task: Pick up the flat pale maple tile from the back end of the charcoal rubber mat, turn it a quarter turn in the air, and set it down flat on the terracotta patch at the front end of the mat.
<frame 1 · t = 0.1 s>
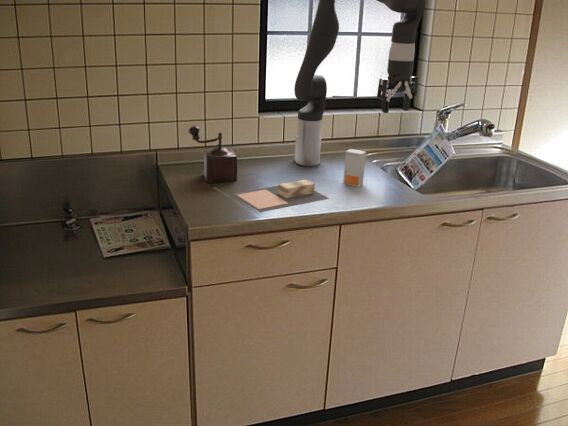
hand: (395, 111, 187), 29 cm above the counter, tool pointing down, fingers open, 8 cm apart
manual coffee grinder: (212, 179, 211), on the counter
rubber mat: (280, 197, 196), on the counter
skincare box: (353, 184, 211), on the counter
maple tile: (296, 193, 199), point 1 cm above the counter, touching rubber mat
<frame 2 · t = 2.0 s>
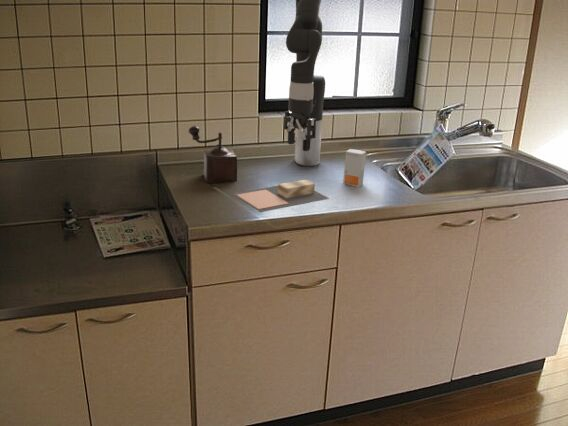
hand: (298, 147, 193), 16 cm above the counter, tool pointing down, fingers open, 8 cm apart
nothing on the counter moved.
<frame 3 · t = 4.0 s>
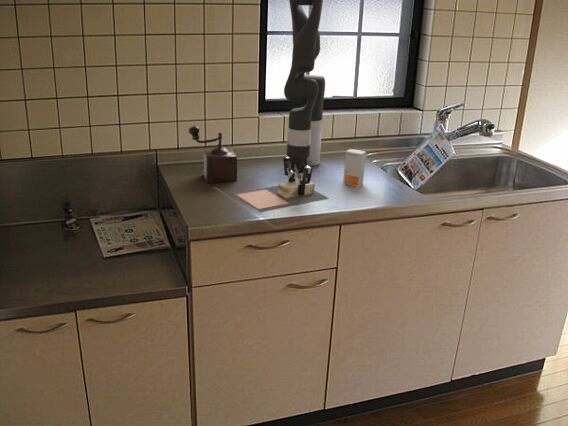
hand: (296, 192, 198), 1 cm above the counter, tool pointing down, fingers closed on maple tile, 5 cm apart
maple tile: (296, 193, 199), point 1 cm above the counter, touching gripper, rubber mat
everything else where it was.
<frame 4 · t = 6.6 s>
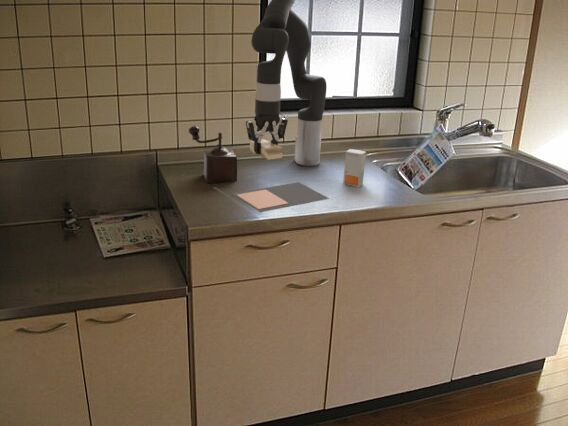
hand: (265, 152, 186), 16 cm above the counter, tool pointing down, fingers closed on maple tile, 5 cm apart
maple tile: (265, 154, 186), point 16 cm above the counter, touching gripper
everything else where it was.
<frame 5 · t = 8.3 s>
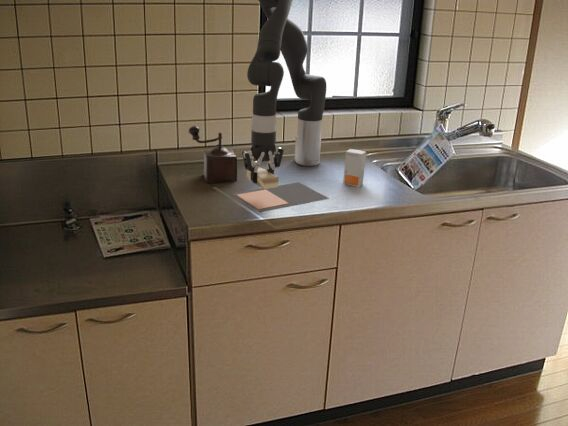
hand: (262, 181, 190), 7 cm above the counter, tool pointing down, fingers closed on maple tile, 5 cm apart
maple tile: (262, 182, 190), point 6 cm above the counter, touching gripper
everything else where it was.
when the fingers open (3 cm above the counter, at t = 9.6 s): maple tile drops 1 cm, resting on rubber mat.
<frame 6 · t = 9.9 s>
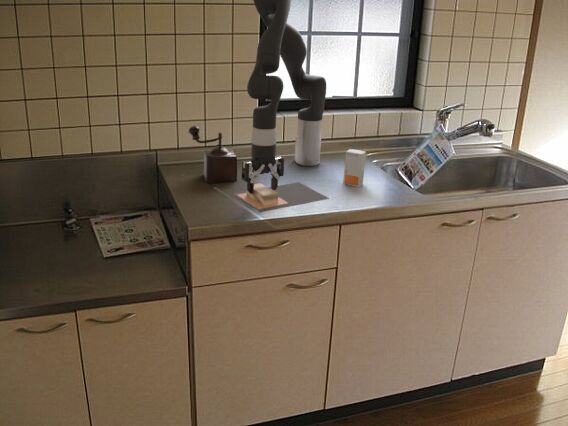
hand: (262, 191, 191), 3 cm above the counter, tool pointing down, fingers open, 8 cm apart
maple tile: (262, 198, 192), point 1 cm above the counter, touching rubber mat
everything else where it was.
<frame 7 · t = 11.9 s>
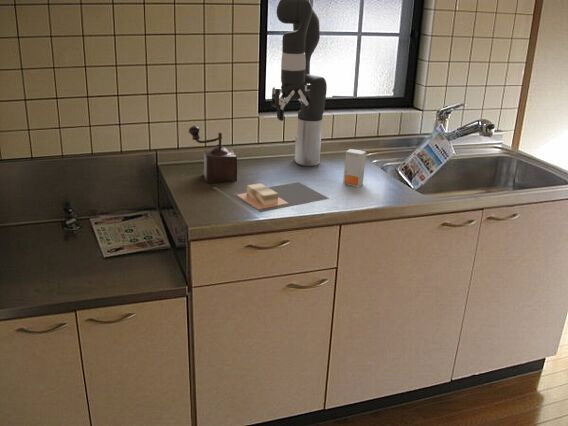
hand: (292, 118, 193), 25 cm above the counter, tool pointing down, fingers open, 8 cm apart
nothing on the counter moved.
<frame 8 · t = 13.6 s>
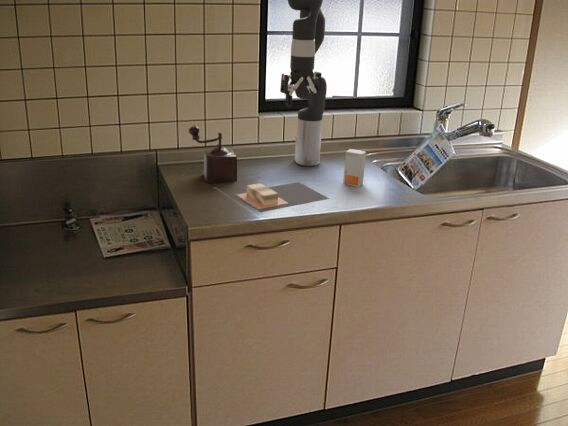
hand: (300, 105, 195), 28 cm above the counter, tool pointing down, fingers open, 8 cm apart
nothing on the counter moved.
at the end: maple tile inside the target area (0.0 cm from its centre), point 0.8 cm above the counter; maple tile tilted 0°; the gripper is holding nothing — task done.
